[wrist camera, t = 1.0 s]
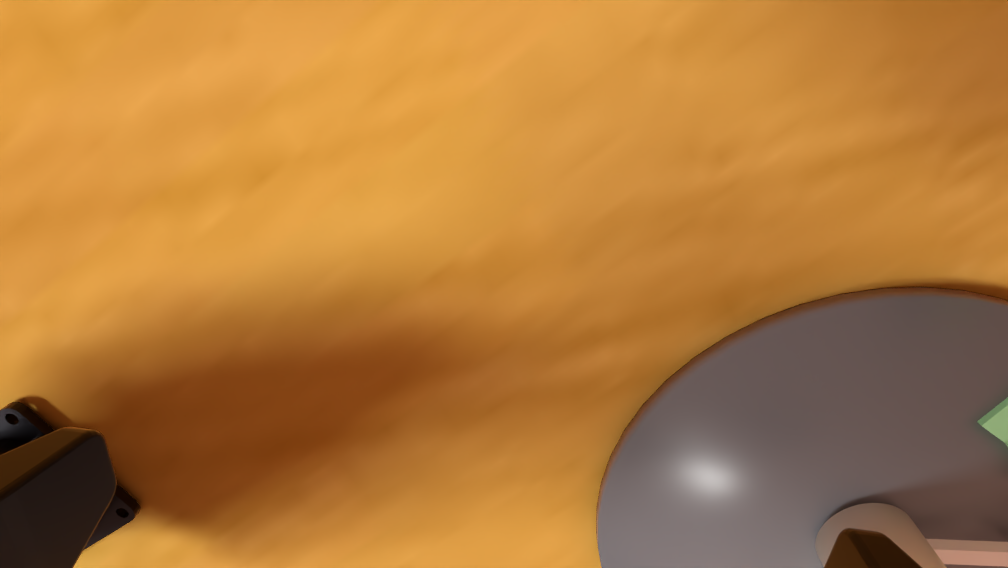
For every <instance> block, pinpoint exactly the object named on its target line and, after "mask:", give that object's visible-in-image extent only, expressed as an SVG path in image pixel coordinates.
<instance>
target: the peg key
mask: <svg viewBox="0 0 1008 568" xmlns="http://www.w3.org/2000/svg"><path fill="white" fill-rule="evenodd" d="M845 528H855V529H862V530H870V531H877V532H880V533H883V534H884V535H886V536H887V537H889V538H890V539H891V540H892V541H893V542H894V543H895V544H897V545H898V546H899V547H900V548H901V549H902V550H903V551H904V552H906V553H907V554H908V555H909V556H910V557H911V558H912V559H913V560H914V561H916V562H917V563H918V564H919V565H920V566H921V567H922V568H947V567H946V566H945V565H944V564H955V565H980V566H1005V567H1008V542H997V541H971V540H945V539H925V537H924V536H923V534H922V533H921V532H920V530H919V529H918V528H917V526H916V525H915V523H914V522H913V521H912V519H911V518H910V517H909V515H908V514H906V513H905V512H904V511H903V510H901V509H899V508H897V507H895V506H892V505H889V504H884V503H865V504H859V505H855V506H852V507H849V508H846V509H844V510H842V511H840V512H838V513H836V514H835V515H833V516H832V517H831V518H830V519H828V520H827V521H826V522H825V523H824V524H823V526H822V527H821V528H820V530H819V532H818V534H817V537H816V541H815V548H816V552H817V555H818V557H819V559H820V561H821V563H822V565H823V567H824V566H825V564H826V562H827V559H828V557H829V555H830V553H831V550H832V548H833V546H834V543H835V541H836V539H837V537H838V535H839V533H840V532H841V531H842V530H844V529H845Z"/></svg>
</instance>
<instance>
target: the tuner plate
mask: <svg viewBox="0 0 1008 568" xmlns="http://www.w3.org/2000/svg"><path fill="white" fill-rule="evenodd" d="M865 503H884V504H889V505H892V506H895V507H897V508H899V509H901V510H903V511H904V512H905V513H906V514H908V515H909V517H910V518H911V519H912V521H913V522H914V523H915V525H916V526H917V528H918V529H919V530H920V532H921V533H922V534H923V536H924V537H925V539H945V540H971V541H997V542H1008V301H1006V300H1004V299H1001V298H996V297H992V296H987V295H982V294H978V293H973V292H968V291H964V290H953V289H941V288H929V287H908V288H881V289H874V290H867V291H860V292H853V293H846V294H840V295H836V296H832V297H828V298H824V299H820V300H817V301H813V302H809V303H805V304H801V305H798V306H795V307H793V308H790V309H787V310H785V311H782V312H779V313H777V314H774V315H771V316H769V317H766V318H763V319H761V320H759V321H757V322H755V323H753V324H751V325H749V326H747V327H745V328H743V329H741V330H739V331H737V332H735V333H733V334H731V335H729V336H727V337H725V338H724V339H722V340H721V341H719V342H717V343H716V344H714V345H713V346H711V347H710V348H708V349H707V350H705V351H703V352H702V353H700V354H699V355H697V356H696V357H694V358H693V359H692V360H691V361H689V362H688V363H687V364H686V365H684V366H683V367H682V368H681V369H680V370H678V371H677V372H676V373H675V374H673V375H672V376H671V377H670V378H669V379H667V380H666V381H665V382H664V383H663V384H662V385H661V386H660V387H659V389H658V390H657V391H656V392H655V393H654V394H653V395H652V396H651V397H650V398H649V399H648V400H647V401H646V402H645V403H644V404H643V405H642V407H641V408H640V410H639V411H638V412H637V414H636V415H635V416H634V418H633V419H632V420H631V422H630V423H629V425H628V426H627V427H626V429H625V430H624V432H623V434H622V435H621V437H620V439H619V441H618V443H617V445H616V447H615V449H614V450H613V452H612V454H611V456H610V459H609V461H608V464H607V467H606V470H605V473H604V476H603V478H602V481H601V486H600V491H599V497H598V503H597V519H596V533H597V541H598V549H599V555H600V561H601V567H602V568H824V567H823V565H822V563H821V561H820V559H819V557H818V555H817V552H816V548H815V541H816V537H817V534H818V532H819V530H820V528H821V527H822V526H823V524H824V523H825V522H826V521H827V520H828V519H830V518H831V517H832V516H833V515H835V514H836V513H838V512H840V511H842V510H844V509H846V508H849V507H852V506H855V505H859V504H865ZM944 565H945V566H946V567H947V568H1008V567H1005V566H980V565H955V564H944Z"/></svg>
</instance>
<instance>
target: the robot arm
mask: <svg viewBox="0 0 1008 568" xmlns="http://www.w3.org/2000/svg"><path fill="white" fill-rule="evenodd" d="M139 511H140V505H139V503H138V502H137V501H136V500H135V499H134V498H133V497H131V496H130V495H129V494H128V493H127V492H126V491H124V490H123V489H122V488H121V487H120V486H119V485H117V479H116V474H115V471H114V467H113V464H112V460H111V457H110V454H109V450H108V447H107V443H106V440H105V438H104V436H103V435H102V434H101V433H100V432H99V431H97V430H92V429H85V428H77V427H64V428H61V429H58V430H56V431H55V430H54V429H53V428H52V427H50V426H49V425H48V424H47V423H46V422H45V421H43V420H42V419H41V418H40V417H39V416H38V415H36V414H35V413H34V412H33V411H32V410H31V409H30V408H28V407H27V406H25V405H24V404H22V403H19V402H12V403H10V404H8V405H7V406H5V407H4V408H3V409H1V410H0V568H73V567H74V565H75V563H76V562H77V560H78V558H79V556H80V555H81V553H82V551H83V550H84V549H86V548H88V547H89V546H91V545H92V544H94V543H96V542H97V541H99V540H101V539H102V538H104V537H106V536H107V535H109V534H111V533H112V532H114V531H116V530H117V529H119V528H121V527H122V526H124V525H126V524H127V523H129V522H130V521H132V520H133V519H134V518H135V516H136V515H137V514H138V513H139ZM824 568H922V567H921V566H920V565H919V564H918V563H917V562H916V561H914V560H913V559H912V558H911V557H910V556H909V555H908V554H907V553H906V552H904V551H903V550H902V549H901V548H900V547H899V546H898V545H897V544H895V543H894V542H893V541H892V540H891V539H890V538H889V537H887V536H886V535H884V534H883V533H880V532H877V531H870V530H862V529H855V528H845V529H844V530H842V531H841V532H840V533H839V535H838V537H837V539H836V541H835V543H834V546H833V548H832V550H831V553H830V555H829V557H828V559H827V562H826V564H825V566H824Z"/></svg>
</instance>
